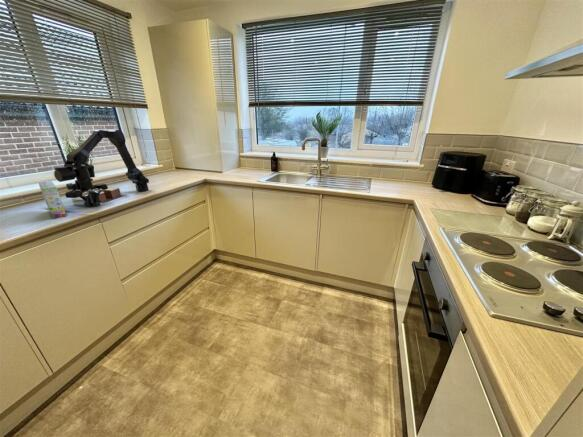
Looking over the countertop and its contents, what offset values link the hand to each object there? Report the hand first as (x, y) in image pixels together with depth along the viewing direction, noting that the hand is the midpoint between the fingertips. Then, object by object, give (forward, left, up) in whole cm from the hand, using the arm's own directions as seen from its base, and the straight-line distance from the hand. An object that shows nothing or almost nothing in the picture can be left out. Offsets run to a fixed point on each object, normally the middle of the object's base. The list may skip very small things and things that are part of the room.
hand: (93, 205), depth 131 cm
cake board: (+8, -13, -1) cm, 15 cm away
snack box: (+11, +10, -1) cm, 15 cm away
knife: (+5, 0, -1) cm, 5 cm away
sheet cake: (+8, -17, 0) cm, 19 cm away
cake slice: (+8, -8, 0) cm, 12 cm away
